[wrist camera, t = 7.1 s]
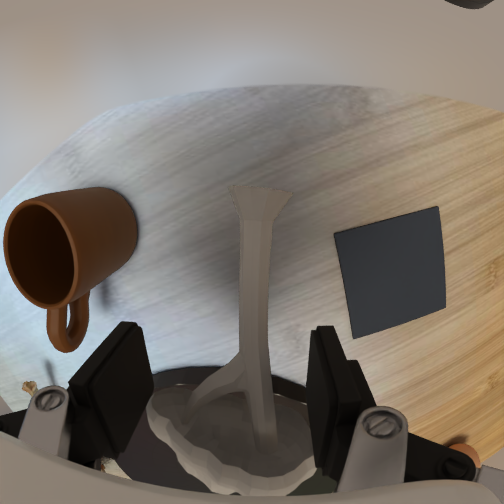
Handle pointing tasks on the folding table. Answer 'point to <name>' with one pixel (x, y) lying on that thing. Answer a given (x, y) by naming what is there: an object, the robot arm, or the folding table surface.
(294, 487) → the mushroom
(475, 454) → the egg
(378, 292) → the coaster
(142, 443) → the disc
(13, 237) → the mug
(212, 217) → the folding table surface
